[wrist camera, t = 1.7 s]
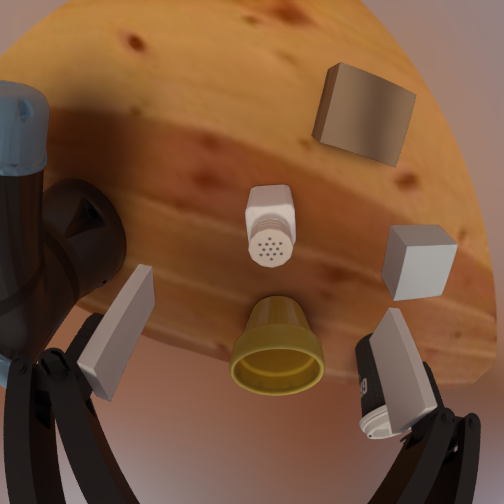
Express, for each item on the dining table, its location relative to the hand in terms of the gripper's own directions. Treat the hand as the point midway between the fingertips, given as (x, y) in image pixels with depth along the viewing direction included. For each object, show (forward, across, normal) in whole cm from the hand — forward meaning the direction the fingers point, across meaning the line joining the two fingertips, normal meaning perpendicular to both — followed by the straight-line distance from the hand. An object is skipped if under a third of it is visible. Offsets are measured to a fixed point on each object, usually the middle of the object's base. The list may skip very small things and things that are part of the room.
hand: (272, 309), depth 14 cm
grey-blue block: (+16, +18, -2) cm, 24 cm away
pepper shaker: (+16, 0, 0) cm, 16 cm away
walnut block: (+16, +6, +11) cm, 20 cm away
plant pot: (+16, +4, -15) cm, 22 cm away
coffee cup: (+16, +21, -19) cm, 32 cm away
